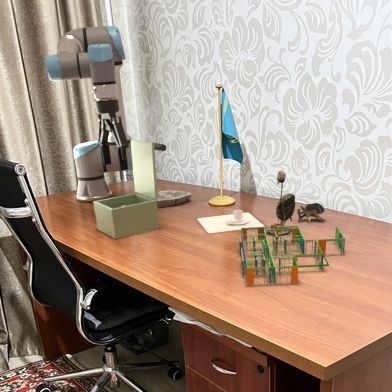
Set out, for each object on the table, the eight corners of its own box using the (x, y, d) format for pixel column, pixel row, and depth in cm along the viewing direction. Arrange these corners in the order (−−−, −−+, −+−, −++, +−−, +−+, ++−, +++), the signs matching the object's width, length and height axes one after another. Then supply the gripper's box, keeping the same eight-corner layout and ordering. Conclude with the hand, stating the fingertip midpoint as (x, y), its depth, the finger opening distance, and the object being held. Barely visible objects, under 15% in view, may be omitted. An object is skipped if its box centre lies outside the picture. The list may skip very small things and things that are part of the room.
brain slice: (176, 195, 226) (176, 188, 225) (196, 201, 213) (196, 194, 212) (136, 203, 218) (135, 196, 216) (154, 210, 205) (153, 203, 203)
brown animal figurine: (298, 222, 175) (325, 216, 172) (295, 201, 175) (322, 196, 173) (300, 228, 182) (326, 223, 180) (297, 208, 183) (323, 203, 180)
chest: (115, 239, 175) (111, 209, 170) (97, 229, 187) (93, 201, 182) (159, 228, 182) (156, 200, 177) (139, 219, 194) (136, 193, 189)
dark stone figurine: (302, 230, 170) (304, 167, 160) (274, 237, 165) (275, 173, 155) (286, 225, 176) (288, 164, 166) (259, 232, 172) (259, 169, 162)
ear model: (227, 227, 179) (227, 215, 177) (221, 221, 185) (221, 209, 183) (251, 224, 180) (251, 212, 178) (245, 218, 187) (245, 207, 185)
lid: (151, 143, 169) (171, 141, 172) (130, 139, 181) (149, 137, 184) (155, 199, 177) (174, 196, 180) (134, 191, 189) (153, 189, 192)
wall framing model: (238, 243, 163) (238, 228, 160) (333, 238, 161) (334, 222, 159) (244, 286, 132) (243, 268, 130) (360, 280, 131) (362, 262, 128)
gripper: (81, 99, 175) (91, 164, 186) (111, 102, 156) (121, 174, 167) (101, 96, 178) (110, 160, 189) (133, 99, 159) (141, 170, 170)
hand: (115, 167), depth 178 cm, fingers open, 13 cm apart
